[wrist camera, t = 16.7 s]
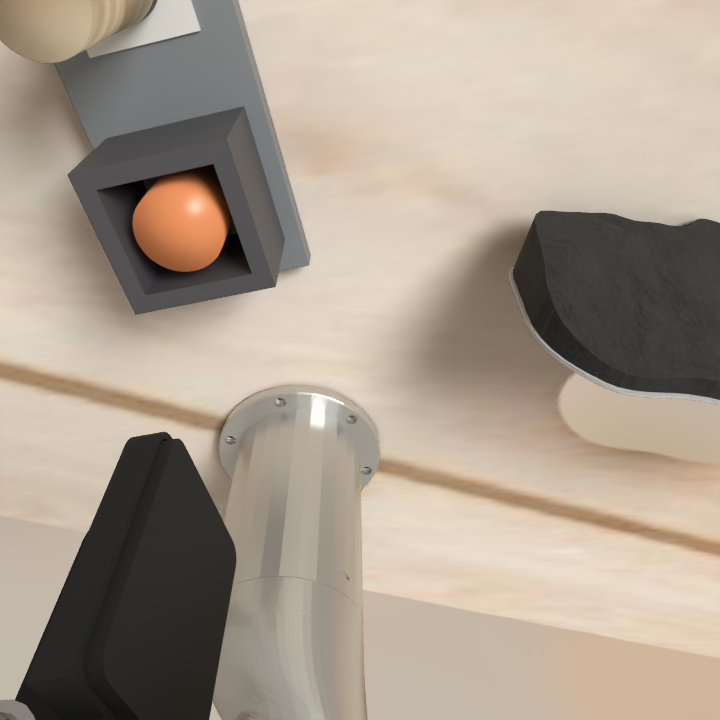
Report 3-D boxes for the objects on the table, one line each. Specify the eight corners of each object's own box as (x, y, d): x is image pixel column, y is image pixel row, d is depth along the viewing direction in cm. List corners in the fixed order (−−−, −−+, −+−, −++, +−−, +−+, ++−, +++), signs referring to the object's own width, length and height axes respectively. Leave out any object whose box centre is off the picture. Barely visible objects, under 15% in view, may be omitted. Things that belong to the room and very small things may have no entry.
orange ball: (248, 224, 38) (235, 262, 34) (174, 239, 38) (153, 279, 34) (222, 147, 35) (205, 178, 31) (144, 165, 36) (117, 198, 32)
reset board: (310, 254, 41) (303, 314, 35) (164, 284, 42) (133, 347, 36) (194, -151, 30) (153, -166, 23) (-3, -95, 31) (-92, -96, 24)
